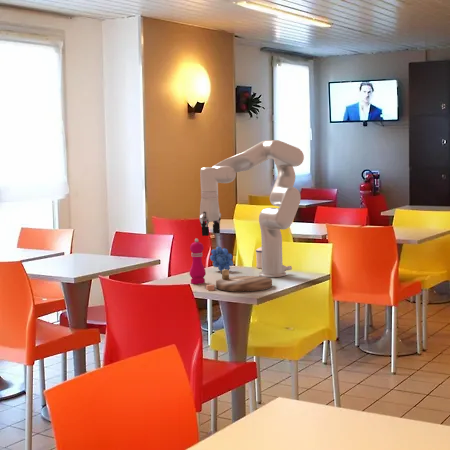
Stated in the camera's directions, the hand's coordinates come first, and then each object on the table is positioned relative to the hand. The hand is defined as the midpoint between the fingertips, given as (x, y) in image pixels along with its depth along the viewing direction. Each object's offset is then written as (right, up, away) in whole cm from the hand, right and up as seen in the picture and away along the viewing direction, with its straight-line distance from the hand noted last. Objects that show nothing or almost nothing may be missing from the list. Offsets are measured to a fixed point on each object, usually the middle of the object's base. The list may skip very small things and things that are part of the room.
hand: (211, 234), depth 350 cm
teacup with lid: (+26, -17, +47) cm, 57 cm away
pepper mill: (-6, -22, +7) cm, 24 cm away
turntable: (+14, -23, -8) cm, 28 cm away
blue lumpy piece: (+4, -19, +38) cm, 43 cm away
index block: (0, -23, -12) cm, 26 cm away
